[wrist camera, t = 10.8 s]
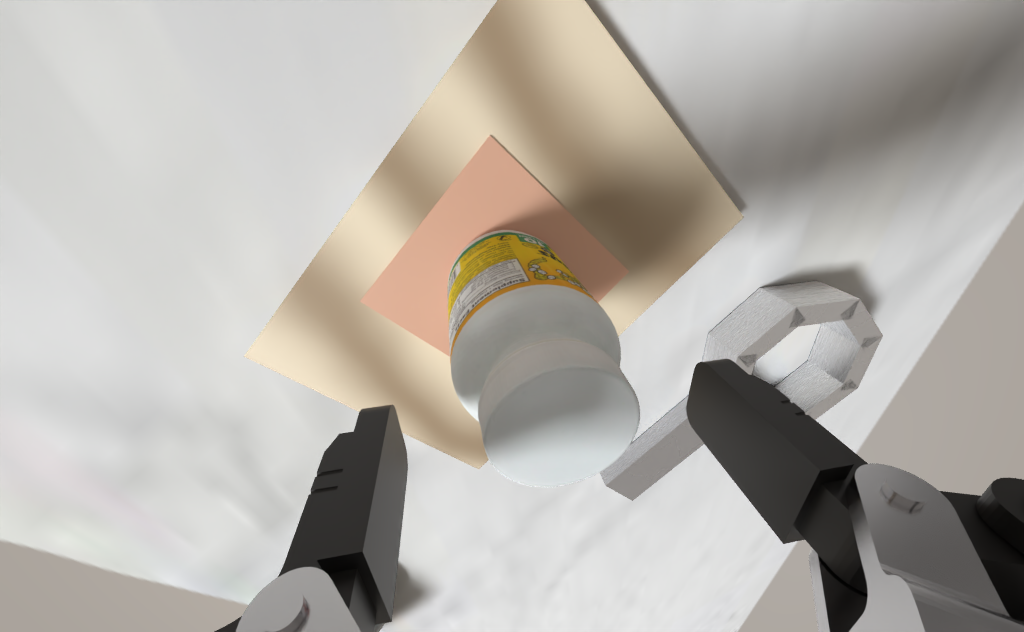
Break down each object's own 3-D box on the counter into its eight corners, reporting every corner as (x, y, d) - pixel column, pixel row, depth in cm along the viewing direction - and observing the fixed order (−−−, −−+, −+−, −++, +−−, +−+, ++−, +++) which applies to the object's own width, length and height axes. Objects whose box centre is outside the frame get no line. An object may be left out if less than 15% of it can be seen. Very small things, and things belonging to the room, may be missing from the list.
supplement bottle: (423, 268, 17) (403, 418, 8) (527, 202, 16) (621, 292, 8) (487, 352, 19) (522, 532, 11) (579, 298, 19) (692, 444, 10)
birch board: (535, -51, 13) (540, -62, 12) (732, 213, 19) (745, 217, 18) (251, 347, 18) (242, 357, 17) (477, 459, 24) (478, 470, 23)
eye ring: (799, 253, 21) (841, 268, 18) (856, 337, 24) (897, 358, 22) (570, 454, 25) (583, 486, 23) (648, 499, 29) (665, 531, 26)
